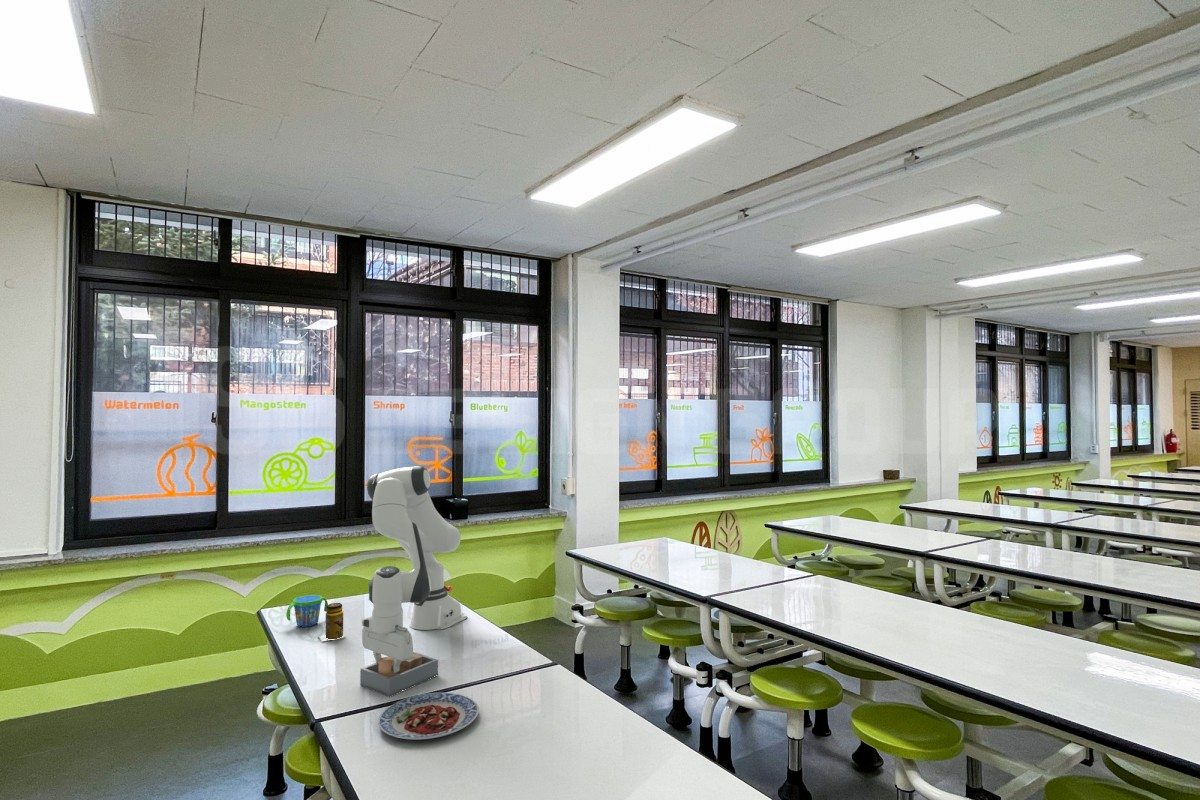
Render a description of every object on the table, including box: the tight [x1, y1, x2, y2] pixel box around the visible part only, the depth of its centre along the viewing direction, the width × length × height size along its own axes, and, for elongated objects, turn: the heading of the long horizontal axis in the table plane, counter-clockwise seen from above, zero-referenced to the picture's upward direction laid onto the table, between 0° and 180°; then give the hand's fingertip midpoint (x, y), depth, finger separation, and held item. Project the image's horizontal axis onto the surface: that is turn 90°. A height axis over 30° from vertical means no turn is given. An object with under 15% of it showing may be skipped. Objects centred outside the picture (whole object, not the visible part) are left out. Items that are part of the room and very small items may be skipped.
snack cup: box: [285, 594, 329, 628], centre depth 250 cm, size 16×10×10 cm
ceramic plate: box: [378, 692, 480, 741], centre depth 171 cm, size 26×26×3 cm
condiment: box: [325, 602, 344, 639], centre depth 235 cm, size 7×8×12 cm
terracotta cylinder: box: [379, 656, 396, 678], centre depth 194 cm, size 5×5×7 cm
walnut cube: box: [399, 654, 422, 674], centre depth 201 cm, size 5×5×5 cm
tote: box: [359, 651, 439, 698], centre depth 197 cm, size 18×14×5 cm
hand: (387, 668), depth 194 cm, fingers open, 6 cm apart
